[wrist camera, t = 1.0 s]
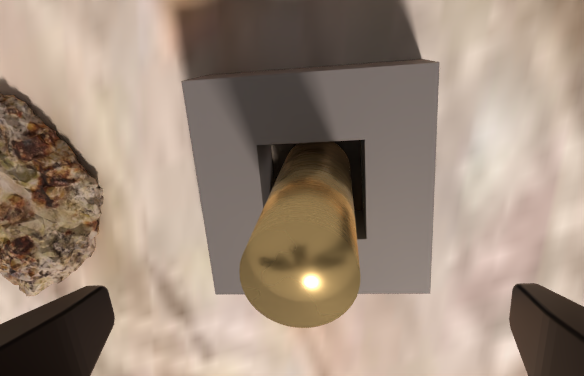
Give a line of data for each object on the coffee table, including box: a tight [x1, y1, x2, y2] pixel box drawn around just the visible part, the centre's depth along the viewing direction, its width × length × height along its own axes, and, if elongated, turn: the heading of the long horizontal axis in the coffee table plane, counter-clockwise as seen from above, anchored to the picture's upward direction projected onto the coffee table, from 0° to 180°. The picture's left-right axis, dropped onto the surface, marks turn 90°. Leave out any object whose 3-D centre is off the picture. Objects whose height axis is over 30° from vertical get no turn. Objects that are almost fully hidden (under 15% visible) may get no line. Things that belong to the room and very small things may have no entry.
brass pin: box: [239, 141, 361, 328], centre depth 14 cm, size 3×3×9 cm
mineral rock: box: [0, 94, 103, 296], centre depth 20 cm, size 11×4×8 cm
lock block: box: [182, 59, 439, 294], centre depth 17 cm, size 9×9×3 cm
